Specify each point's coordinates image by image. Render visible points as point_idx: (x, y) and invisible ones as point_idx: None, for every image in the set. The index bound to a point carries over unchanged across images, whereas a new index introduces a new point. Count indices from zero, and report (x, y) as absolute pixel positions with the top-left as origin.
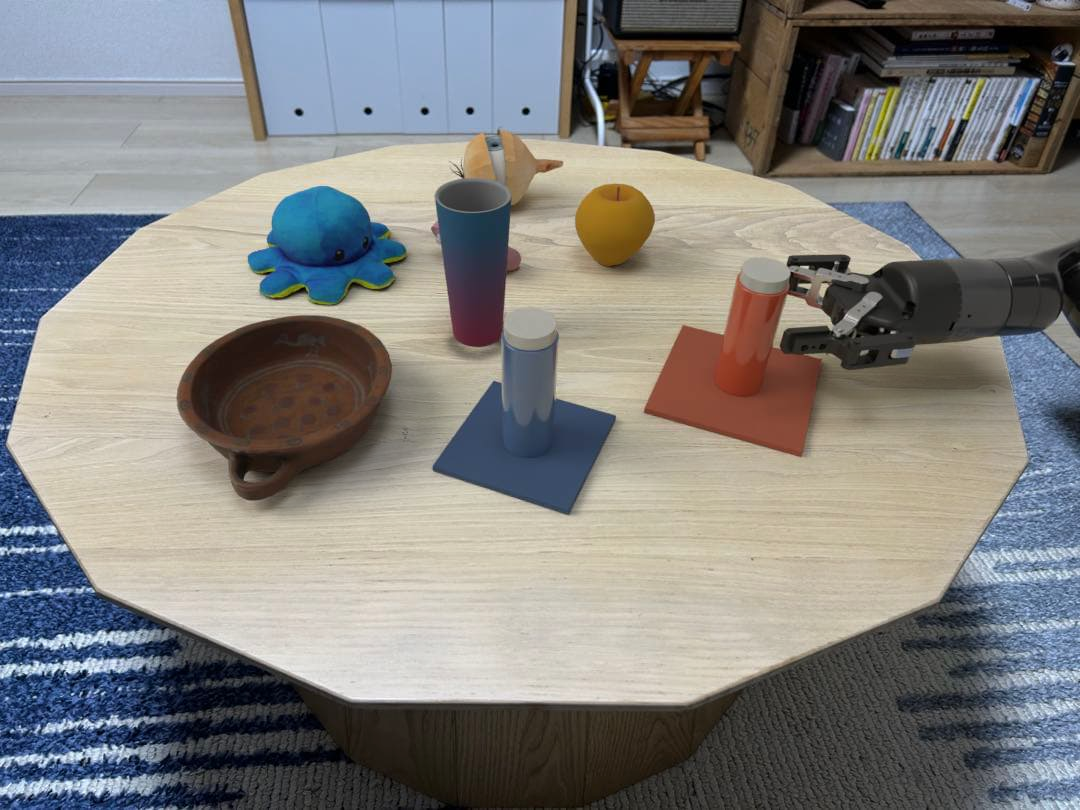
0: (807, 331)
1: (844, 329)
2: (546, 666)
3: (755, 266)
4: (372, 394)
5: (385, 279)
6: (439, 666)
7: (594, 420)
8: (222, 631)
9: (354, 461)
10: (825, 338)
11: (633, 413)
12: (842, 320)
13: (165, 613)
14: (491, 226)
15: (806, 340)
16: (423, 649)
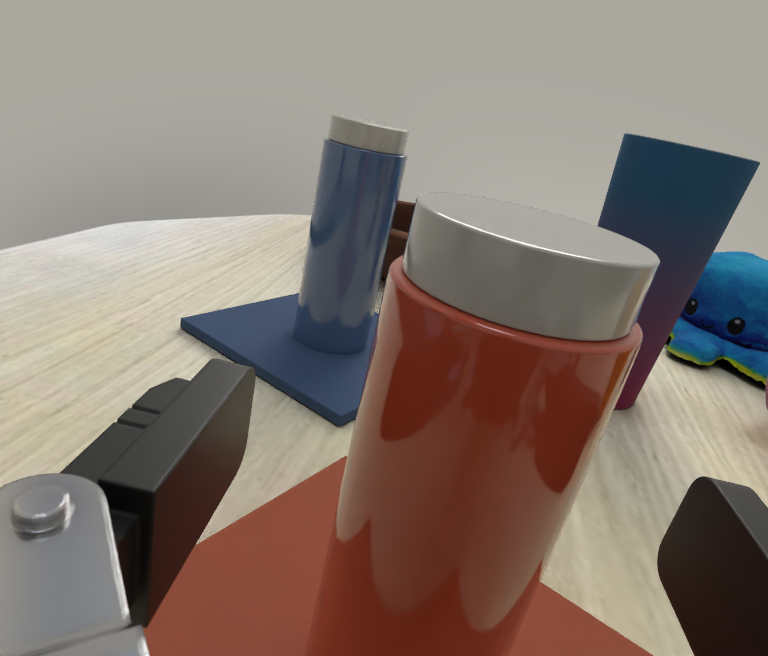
0: (179, 396)
1: (14, 542)
2: (13, 261)
3: (555, 220)
4: (400, 231)
5: (682, 347)
6: (92, 240)
7: (340, 393)
8: (222, 218)
9: None
10: (81, 465)
11: None
12: (115, 601)
13: (254, 215)
14: (630, 166)
15: (141, 397)
16: (117, 241)
